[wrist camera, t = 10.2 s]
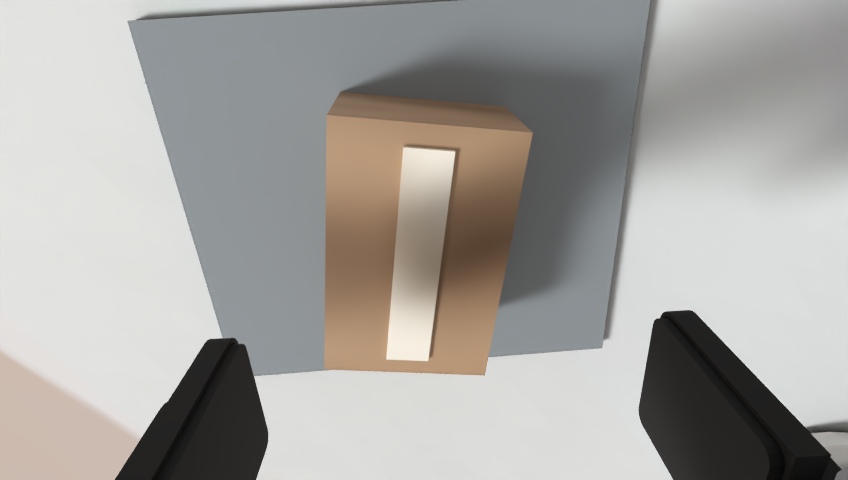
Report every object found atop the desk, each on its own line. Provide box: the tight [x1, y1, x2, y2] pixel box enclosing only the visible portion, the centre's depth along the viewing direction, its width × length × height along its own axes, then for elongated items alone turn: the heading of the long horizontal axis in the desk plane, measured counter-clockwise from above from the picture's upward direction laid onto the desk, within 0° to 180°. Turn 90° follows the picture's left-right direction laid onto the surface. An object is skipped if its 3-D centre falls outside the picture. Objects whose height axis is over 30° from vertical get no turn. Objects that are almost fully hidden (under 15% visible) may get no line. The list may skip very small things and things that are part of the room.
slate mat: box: [128, 0, 650, 376], centre depth 18 cm, size 16×14×1 cm
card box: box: [324, 92, 533, 375], centre depth 16 cm, size 8×6×4 cm, turn 174°
